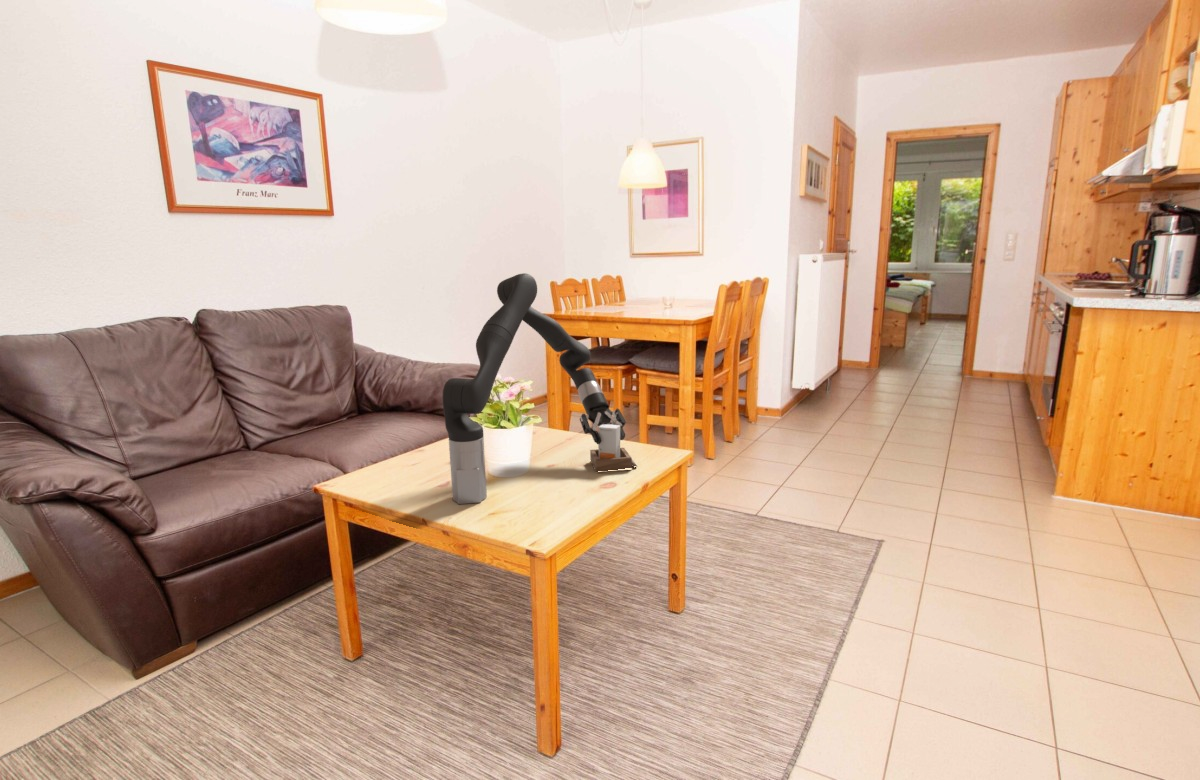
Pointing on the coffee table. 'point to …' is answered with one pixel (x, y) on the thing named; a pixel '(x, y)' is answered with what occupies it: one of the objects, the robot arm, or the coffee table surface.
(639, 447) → the coffee table surface
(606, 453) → the skincare box
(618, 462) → the box
